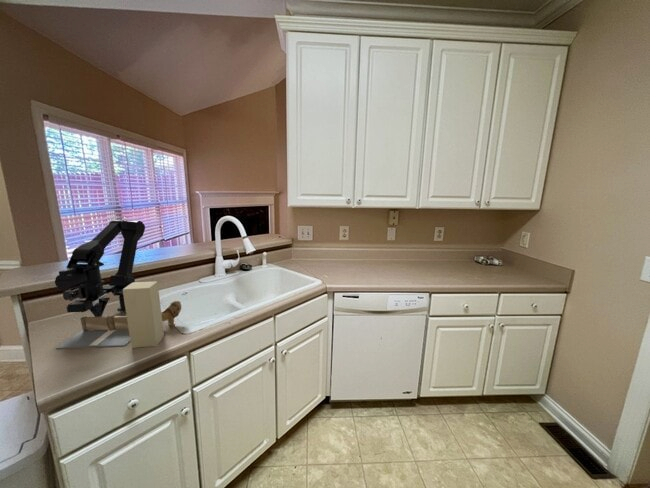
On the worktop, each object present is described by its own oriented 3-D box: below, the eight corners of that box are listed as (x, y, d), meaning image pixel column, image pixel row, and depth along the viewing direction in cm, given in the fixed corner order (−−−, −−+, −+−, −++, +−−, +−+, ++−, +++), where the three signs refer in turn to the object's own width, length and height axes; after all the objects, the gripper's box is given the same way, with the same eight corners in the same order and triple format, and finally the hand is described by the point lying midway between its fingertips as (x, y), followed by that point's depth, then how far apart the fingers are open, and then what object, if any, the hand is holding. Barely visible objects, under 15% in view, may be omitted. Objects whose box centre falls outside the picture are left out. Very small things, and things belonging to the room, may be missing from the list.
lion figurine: (180, 318, 110) (177, 297, 108) (185, 322, 106) (183, 301, 104) (138, 332, 99) (134, 310, 97) (142, 338, 96) (138, 315, 94)
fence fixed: (112, 328, 101) (109, 314, 100) (143, 327, 102) (141, 313, 101) (108, 331, 99) (105, 317, 98) (140, 329, 100) (138, 316, 99)
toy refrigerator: (165, 334, 98) (158, 280, 93) (157, 346, 91) (148, 288, 86) (141, 336, 97) (133, 281, 92) (131, 348, 90) (121, 289, 85)
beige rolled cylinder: (85, 328, 100) (83, 316, 99) (110, 327, 101) (108, 315, 100) (81, 331, 98) (79, 319, 97) (107, 330, 99) (105, 318, 98)
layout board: (97, 320, 107) (97, 319, 107) (154, 319, 109) (154, 317, 109) (56, 348, 89) (56, 347, 89) (125, 345, 91) (124, 344, 91)
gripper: (87, 272, 109) (94, 308, 112) (45, 290, 91) (54, 332, 94) (117, 272, 110) (122, 307, 113) (80, 289, 92) (88, 331, 95)
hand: (98, 318), depth 104 cm, fingers closed
